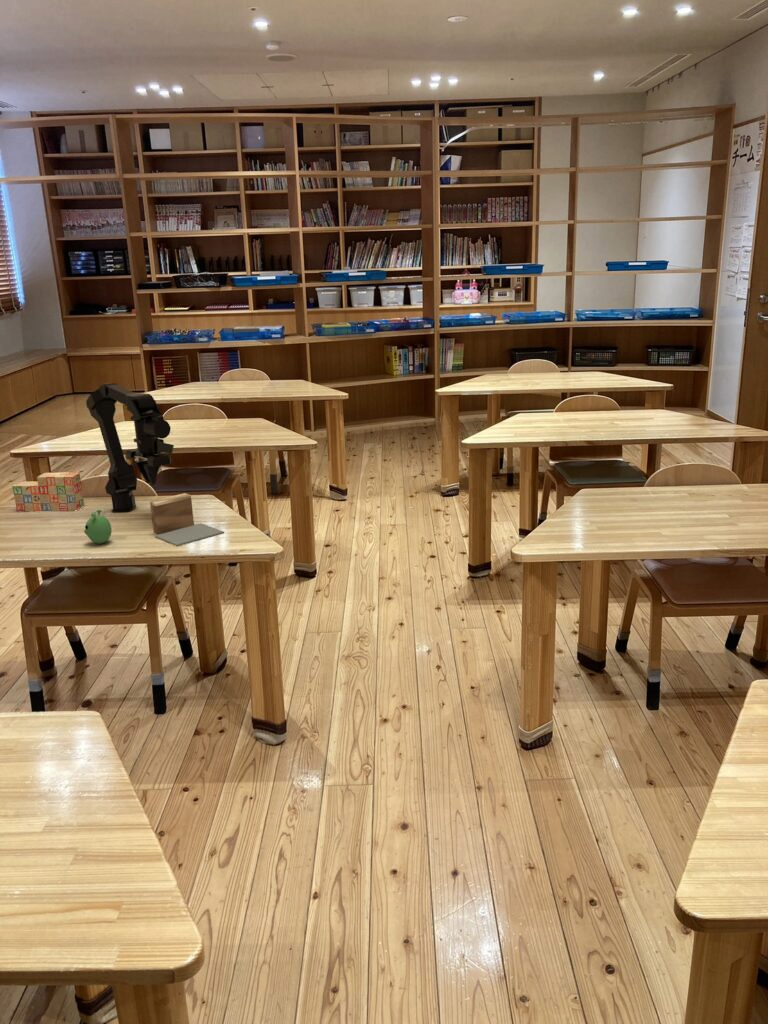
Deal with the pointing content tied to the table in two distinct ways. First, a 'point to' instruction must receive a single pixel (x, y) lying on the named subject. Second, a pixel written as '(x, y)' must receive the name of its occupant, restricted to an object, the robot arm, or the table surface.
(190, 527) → the mat
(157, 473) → the robot arm
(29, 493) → the stack of blocks
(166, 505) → the slab
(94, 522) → the alien toy
